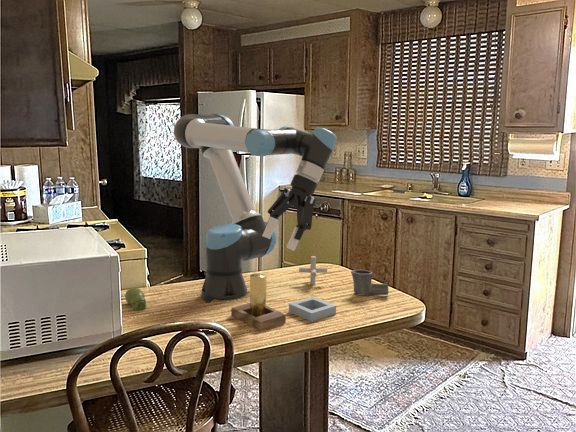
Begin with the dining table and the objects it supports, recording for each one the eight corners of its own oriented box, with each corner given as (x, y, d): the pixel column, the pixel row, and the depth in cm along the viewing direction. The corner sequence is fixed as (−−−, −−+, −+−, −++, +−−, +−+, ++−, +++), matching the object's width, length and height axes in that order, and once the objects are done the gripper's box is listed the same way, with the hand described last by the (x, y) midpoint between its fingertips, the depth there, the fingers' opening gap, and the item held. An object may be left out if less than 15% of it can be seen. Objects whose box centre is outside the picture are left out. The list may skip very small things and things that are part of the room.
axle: (247, 320, 155) (247, 276, 152) (254, 315, 159) (254, 272, 156) (261, 323, 153) (261, 279, 150) (268, 317, 157) (269, 274, 154)
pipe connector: (327, 288, 188) (328, 260, 187) (298, 288, 189) (299, 260, 187) (325, 279, 198) (326, 253, 196) (298, 279, 198) (299, 252, 197)
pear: (140, 283, 173) (150, 297, 165) (139, 298, 175) (150, 313, 167) (122, 286, 170) (132, 300, 162) (122, 301, 172) (132, 316, 164)
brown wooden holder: (231, 320, 158) (231, 307, 158) (255, 313, 164) (255, 301, 163) (260, 335, 148) (260, 322, 147) (285, 327, 154) (285, 314, 153)
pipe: (387, 299, 179) (389, 276, 177) (349, 296, 181) (350, 273, 180) (388, 293, 185) (389, 270, 183) (350, 290, 187) (351, 268, 186)
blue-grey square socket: (288, 316, 162) (288, 303, 162) (313, 308, 169) (313, 296, 168) (311, 326, 155) (311, 313, 154) (335, 318, 161) (336, 305, 160)
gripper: (275, 167, 169) (247, 229, 169) (322, 180, 149) (291, 250, 148) (292, 176, 174) (265, 237, 173) (341, 190, 153) (310, 258, 153)
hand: (277, 243), depth 161 cm, fingers open, 13 cm apart
